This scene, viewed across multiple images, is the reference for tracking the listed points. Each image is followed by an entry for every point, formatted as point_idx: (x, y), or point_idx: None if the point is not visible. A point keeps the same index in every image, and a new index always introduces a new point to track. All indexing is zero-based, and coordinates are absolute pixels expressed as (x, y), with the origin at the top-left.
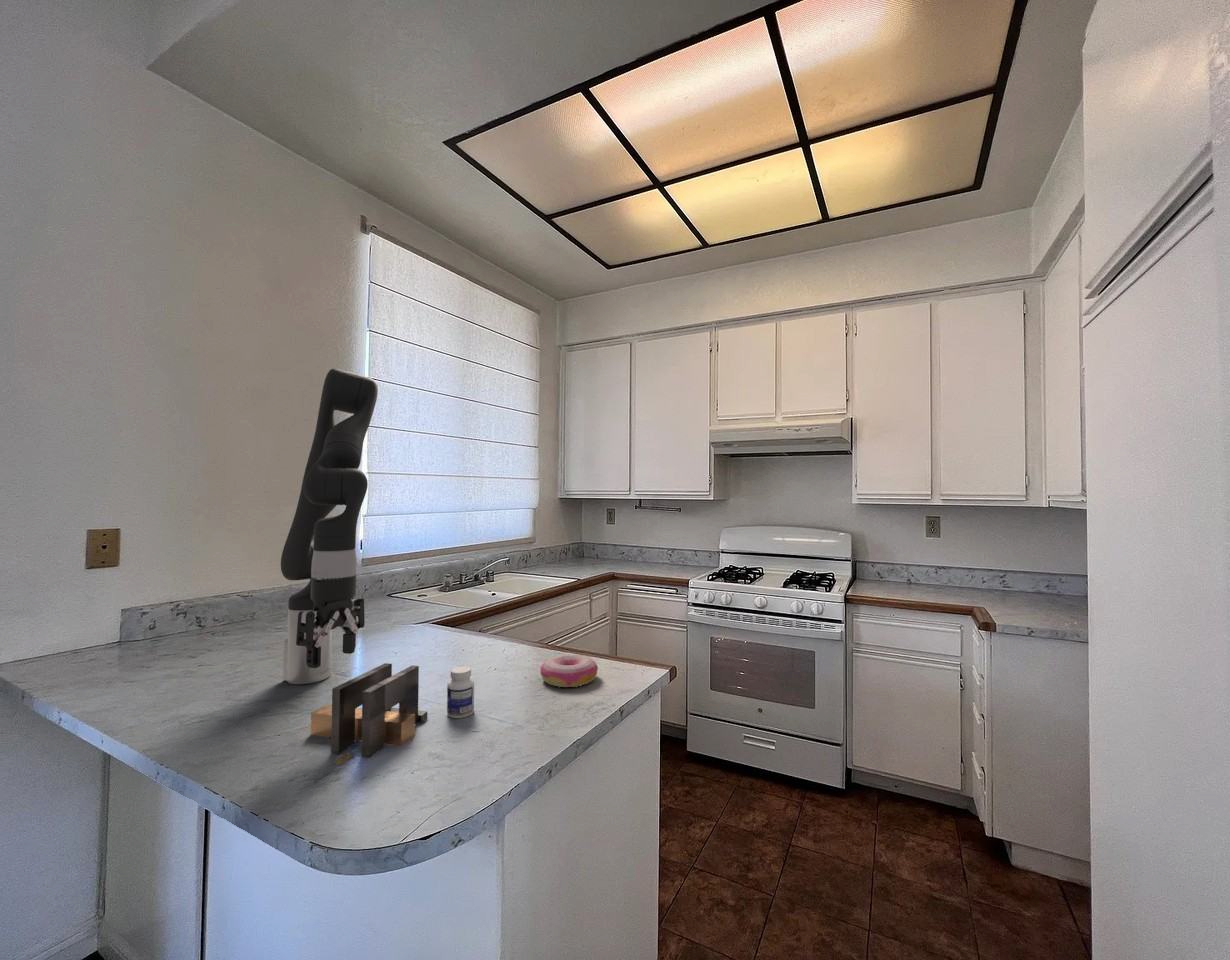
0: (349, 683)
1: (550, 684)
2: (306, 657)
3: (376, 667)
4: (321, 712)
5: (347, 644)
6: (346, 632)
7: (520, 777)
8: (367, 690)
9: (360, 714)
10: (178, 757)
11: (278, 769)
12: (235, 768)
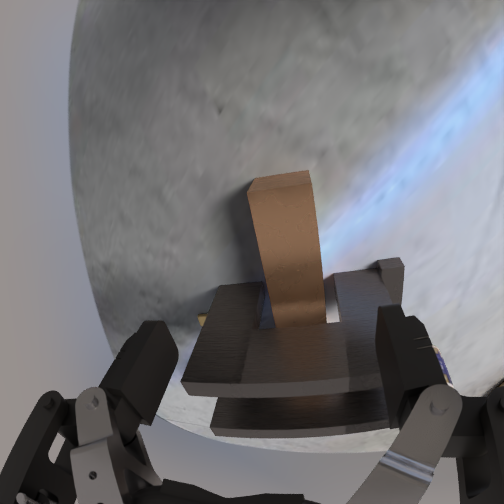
0: (226, 394)
1: (499, 386)
2: (116, 357)
3: (371, 374)
4: (262, 215)
5: (386, 360)
6: (407, 412)
7: (278, 448)
8: (219, 430)
9: (293, 310)
10: (84, 53)
11: (143, 251)
12: (108, 182)
